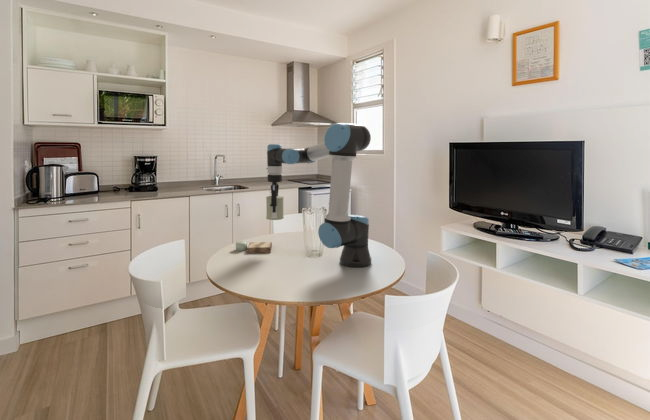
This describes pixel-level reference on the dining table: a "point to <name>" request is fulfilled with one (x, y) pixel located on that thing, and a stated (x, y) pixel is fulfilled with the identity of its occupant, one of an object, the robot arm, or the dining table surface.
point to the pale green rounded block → (241, 246)
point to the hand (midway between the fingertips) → (274, 216)
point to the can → (279, 208)
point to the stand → (259, 247)
